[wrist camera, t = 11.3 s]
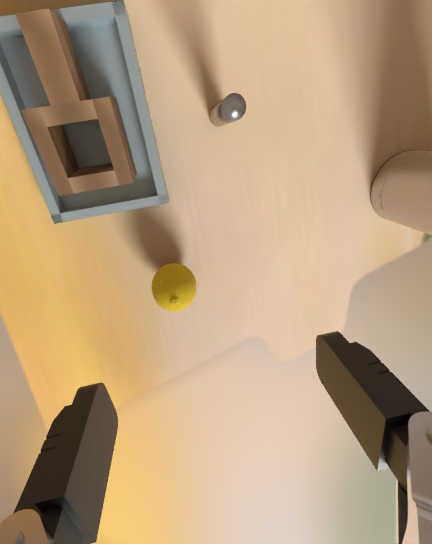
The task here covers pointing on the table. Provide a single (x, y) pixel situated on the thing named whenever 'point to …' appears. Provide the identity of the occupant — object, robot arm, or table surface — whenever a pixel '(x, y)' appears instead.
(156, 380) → the table surface
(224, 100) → the peg
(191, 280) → the lemon
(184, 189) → the table surface
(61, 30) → the collar
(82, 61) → the tray
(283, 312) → the table surface
